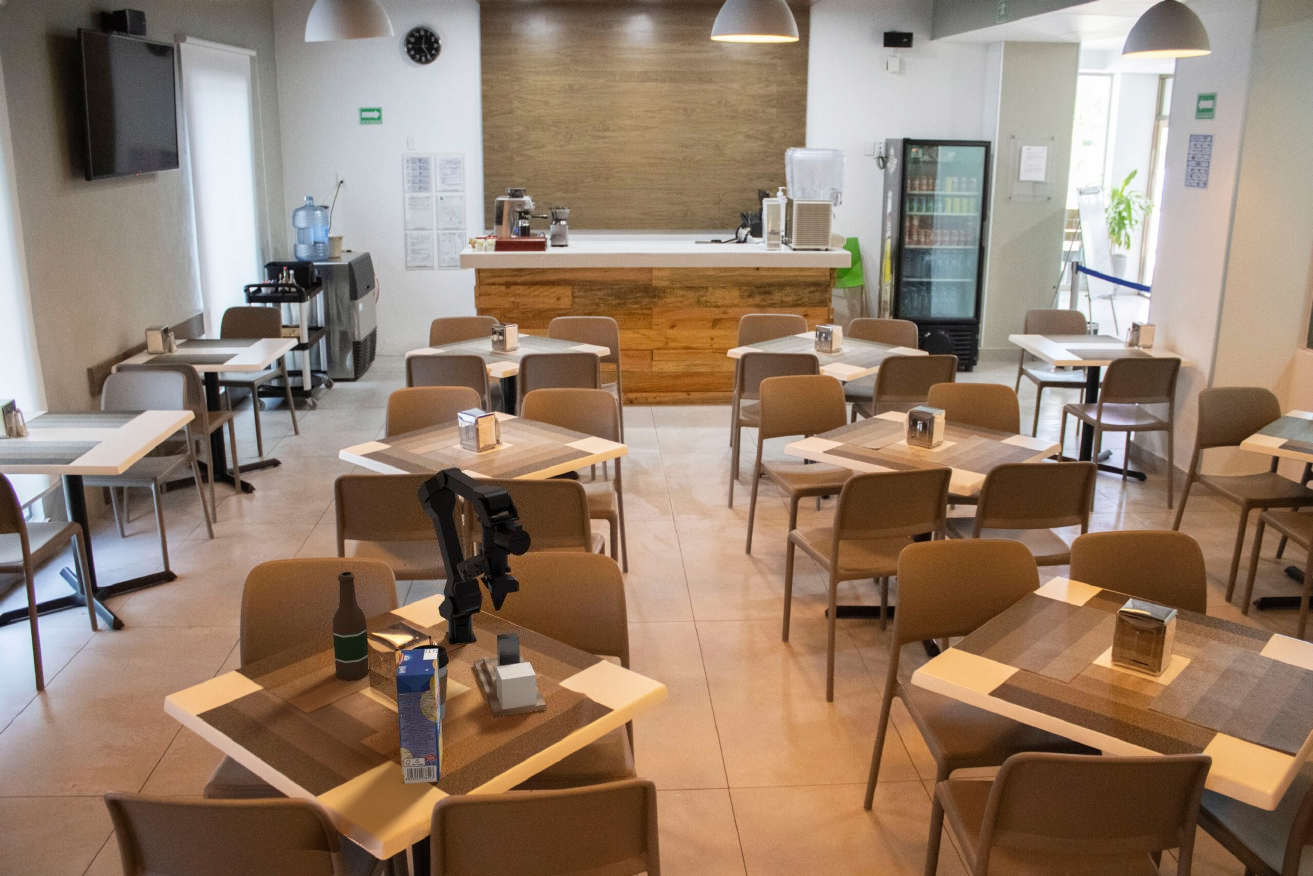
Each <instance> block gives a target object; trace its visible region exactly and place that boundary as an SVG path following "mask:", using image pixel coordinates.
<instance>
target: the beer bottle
mask: <svg viewBox="0 0 1313 876" xmlns="http://www.w3.org/2000/svg"><path fill="white" fill-rule="evenodd" d="M337 579H338V580H337V581H339V604H338V608H337V609H336V611H335V612H334V615H333V619H332V635H333V637H332V638H333V650H334V651H333V652H334V662H335V663H334V664H335V674H336V678H337V679H339V680H342V681H347V682H350V681H357V680H361V679H363V678H365V677H367V676H368V675H369V674H370V668H369V669H368V655H369V641H368V629H367V620H366V616H365V613H364V612H363V610H362V608H360V606H359V605H358V602H357V596H356V595H357V594H356V589H355V581H354V580H355V579H356V577H355V573H354V572H353V571H342V572H340V573H339V574H338V576H337ZM368 673H369V674H368Z"/></svg>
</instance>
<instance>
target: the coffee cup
mask: <svg viewBox="0 0 1313 876" xmlns="http://www.w3.org/2000/svg"><path fill="white" fill-rule="evenodd" d="M433 648H438V659H439V681H440V702H441V721H443V720H444V719H445V718H446V708H447V707H446V704H447V702H446V701H447V689H448V687H447V686H448V676H449V675H448V674H449V673H448V672H449V671H448V664H449V662H450V659H449V657H450V656H449V655H448V652H447V648H446V647H444V646H442V645H438V644H437V645H436V644H422V645H419V646H415V647H413V648H411V650H413V649H433Z"/></svg>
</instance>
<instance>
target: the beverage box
mask: <svg viewBox="0 0 1313 876" xmlns="http://www.w3.org/2000/svg"><path fill="white" fill-rule="evenodd" d="M412 649H413V648H412ZM412 649H401V651H400V655H399V660H398V661H399V662H398V665H397V671H396V675H395V682H396V699H397V700H396V701H397V712H398V713H397V714H398V716H397V717H398V732H399V733H398V734H399V735H398V736H399V750H400V751H399V752H400V767H401V769H400V770H401V784H402V785H404V784H406V785H407V784H419V783H422V784H423V783H434V782H436V783H437V782H440V780H441V774H442V773H441V772H442V771H441V770H442V762H443V753H444V749H443V728H442V726H443V725H442V720H441V702H440V681H439V659H438V648H433V649H413V650H412Z"/></svg>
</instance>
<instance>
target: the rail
mask: <svg viewBox="0 0 1313 876" xmlns="http://www.w3.org/2000/svg"><path fill="white" fill-rule="evenodd" d="M525 662H526V661H525V659H524V657H523V655H522V654H521V653H520V663H525ZM473 666H474V669H475V672H476V675H477V676H478V680H479V682H480V684H481V687H482V690H483V693H484V696H485V697H486V699H487V702H488V705H489V707H490V710H491V712H493V713H492V716H493V717H494V718H500V717H499V716H502V717H504V716H503V715H508V716H512V715H511V714H515V715H518V714H517V713H521V714H525V713H524V712H527V713H531V712H530V711H534V712H536V711H535V710H540V711H545V710H544V709H546V710H547V704H546V701H545V699H544V697H543V695H542V693H541V691H540V688H539V687H538V685H537V684H536V702H537V704H535V705H528V706H522V707H515V708H509V709H502V706H501V704H500V702H499V699H498V697H497V680H496V667H497V666H498V657H492V658H489V657H488V656H486V655H485V656H483V657H482V659H479V660H478V659H477V660H473Z"/></svg>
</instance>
